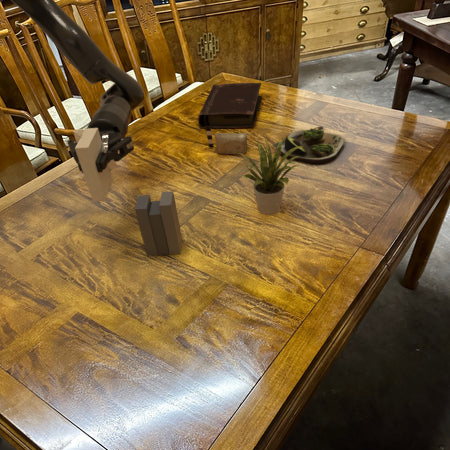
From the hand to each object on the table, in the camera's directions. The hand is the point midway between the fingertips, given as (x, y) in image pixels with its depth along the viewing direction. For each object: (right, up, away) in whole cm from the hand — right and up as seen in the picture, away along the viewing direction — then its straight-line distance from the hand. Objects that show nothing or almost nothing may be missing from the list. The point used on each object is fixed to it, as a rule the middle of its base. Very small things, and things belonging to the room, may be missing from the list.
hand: (90, 168), depth 77 cm
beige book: (0, -2, +7) cm, 7 cm away
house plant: (+37, -3, +22) cm, 43 cm away
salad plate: (+49, +18, +42) cm, 67 cm away
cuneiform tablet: (+26, +19, +45) cm, 55 cm away
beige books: (-11, +14, +43) cm, 46 cm away
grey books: (+12, -13, +15) cm, 23 cm away
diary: (+28, +39, +64) cm, 79 cm away
